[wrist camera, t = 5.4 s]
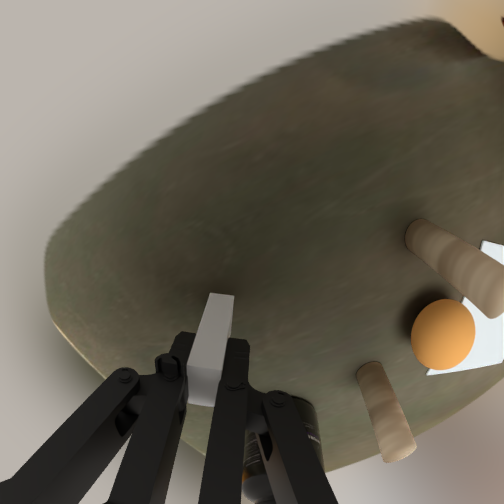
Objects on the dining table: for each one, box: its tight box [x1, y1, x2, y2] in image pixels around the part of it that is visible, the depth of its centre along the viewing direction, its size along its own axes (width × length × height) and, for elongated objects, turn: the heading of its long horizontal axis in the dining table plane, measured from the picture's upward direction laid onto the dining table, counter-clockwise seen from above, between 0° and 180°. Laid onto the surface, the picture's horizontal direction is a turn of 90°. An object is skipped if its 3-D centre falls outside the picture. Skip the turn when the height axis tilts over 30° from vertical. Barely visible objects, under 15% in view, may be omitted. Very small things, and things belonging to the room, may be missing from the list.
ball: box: [411, 299, 476, 370], centre depth 17 cm, size 6×6×6 cm
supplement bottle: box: [242, 397, 325, 504], centre depth 18 cm, size 7×7×12 cm
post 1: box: [356, 362, 417, 463], centre depth 17 cm, size 2×2×9 cm
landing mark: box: [426, 240, 504, 375], centre depth 19 cm, size 14×14×1 cm
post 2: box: [405, 219, 504, 319], centre depth 13 cm, size 2×2×9 cm
